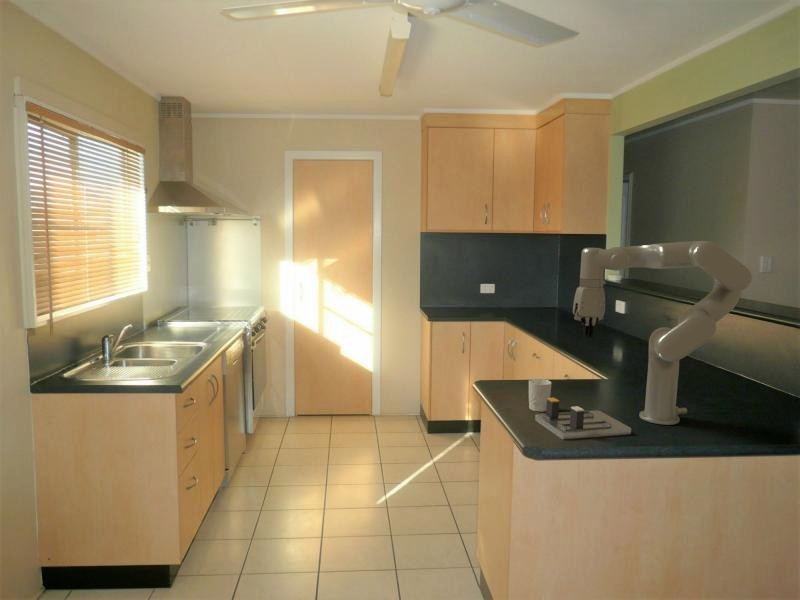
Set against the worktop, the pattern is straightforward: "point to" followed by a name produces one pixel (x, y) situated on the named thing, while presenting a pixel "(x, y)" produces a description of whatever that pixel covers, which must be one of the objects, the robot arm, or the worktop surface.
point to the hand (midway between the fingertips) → (587, 336)
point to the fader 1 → (552, 408)
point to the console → (592, 425)
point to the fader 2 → (577, 417)
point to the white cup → (539, 394)
